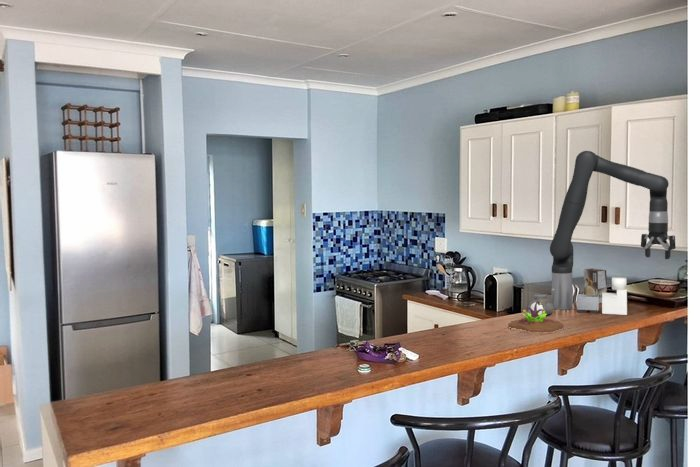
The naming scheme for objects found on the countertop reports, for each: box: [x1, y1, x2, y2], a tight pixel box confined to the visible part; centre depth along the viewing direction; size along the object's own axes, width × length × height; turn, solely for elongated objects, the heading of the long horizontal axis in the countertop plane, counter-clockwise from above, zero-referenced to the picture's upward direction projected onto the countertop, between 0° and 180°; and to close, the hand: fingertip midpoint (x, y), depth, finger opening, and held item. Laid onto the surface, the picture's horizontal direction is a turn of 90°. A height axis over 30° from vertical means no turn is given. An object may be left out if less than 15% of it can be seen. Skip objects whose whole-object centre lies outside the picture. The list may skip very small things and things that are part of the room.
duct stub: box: [576, 293, 600, 314], centre depth 262 cm, size 9×6×8 cm, turn 65°
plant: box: [507, 301, 564, 333], centre depth 236 cm, size 20×20×11 cm
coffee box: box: [583, 268, 608, 304], centre depth 285 cm, size 9×6×16 cm
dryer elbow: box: [601, 276, 628, 316], centre depth 257 cm, size 10×8×16 cm
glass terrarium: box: [527, 294, 555, 316], centre depth 257 cm, size 12×8×10 cm
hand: (657, 258), depth 253 cm, fingers open, 8 cm apart
